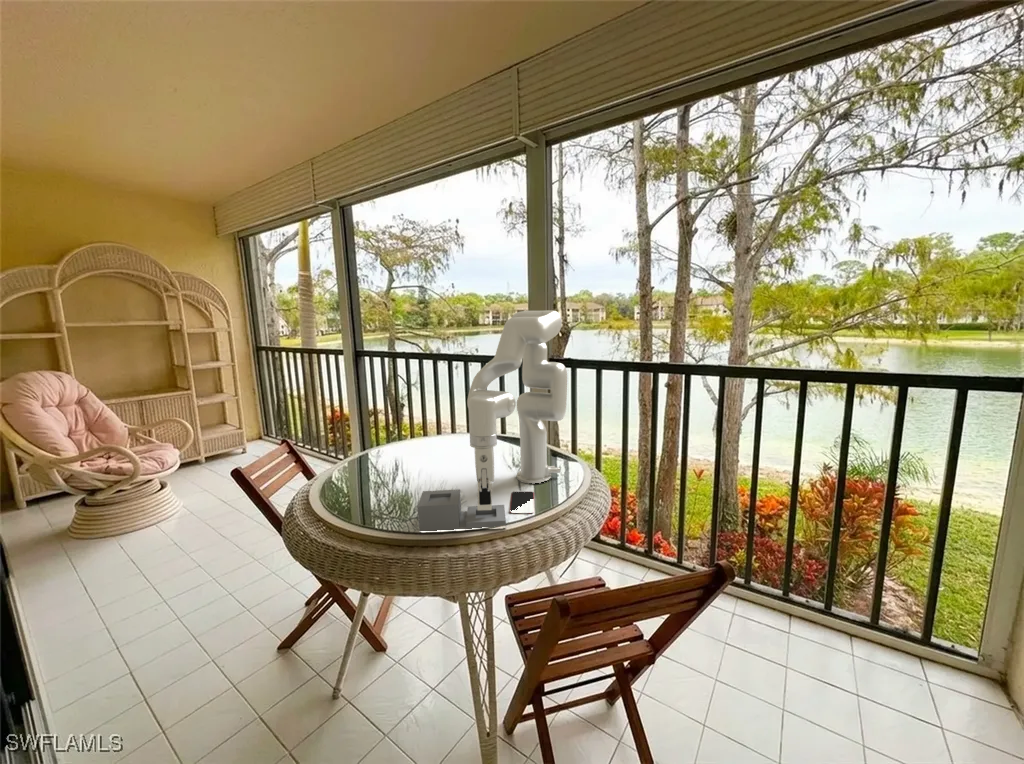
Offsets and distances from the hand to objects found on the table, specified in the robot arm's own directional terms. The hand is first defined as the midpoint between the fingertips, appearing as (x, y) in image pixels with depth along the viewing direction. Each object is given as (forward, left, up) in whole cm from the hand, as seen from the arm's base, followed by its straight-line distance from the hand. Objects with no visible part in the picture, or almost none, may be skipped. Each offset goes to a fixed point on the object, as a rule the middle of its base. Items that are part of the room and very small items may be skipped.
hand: (485, 500), depth 121 cm
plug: (0, 0, -2) cm, 2 cm away
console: (+6, 0, -6) cm, 9 cm away
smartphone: (-12, -11, -7) cm, 18 cm away
